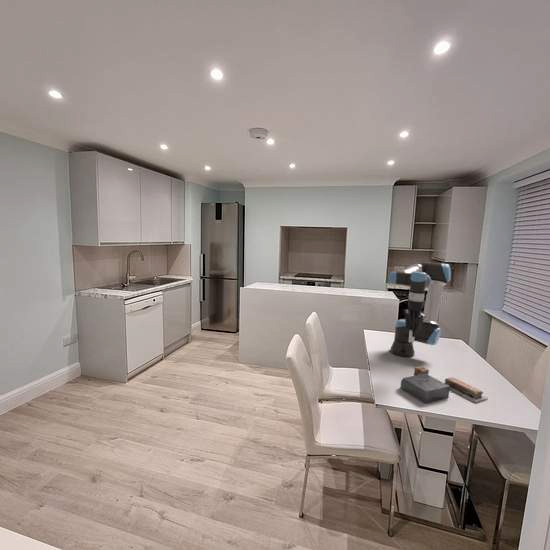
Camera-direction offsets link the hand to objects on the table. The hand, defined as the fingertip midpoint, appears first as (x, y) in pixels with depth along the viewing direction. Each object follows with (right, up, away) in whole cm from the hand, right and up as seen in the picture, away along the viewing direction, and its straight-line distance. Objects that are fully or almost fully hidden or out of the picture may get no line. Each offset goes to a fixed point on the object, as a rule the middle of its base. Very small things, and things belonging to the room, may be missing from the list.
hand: (411, 341), depth 165 cm
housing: (-1, -22, -16) cm, 27 cm away
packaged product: (+21, -24, -13) cm, 34 cm away
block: (+7, -20, +3) cm, 22 cm away
